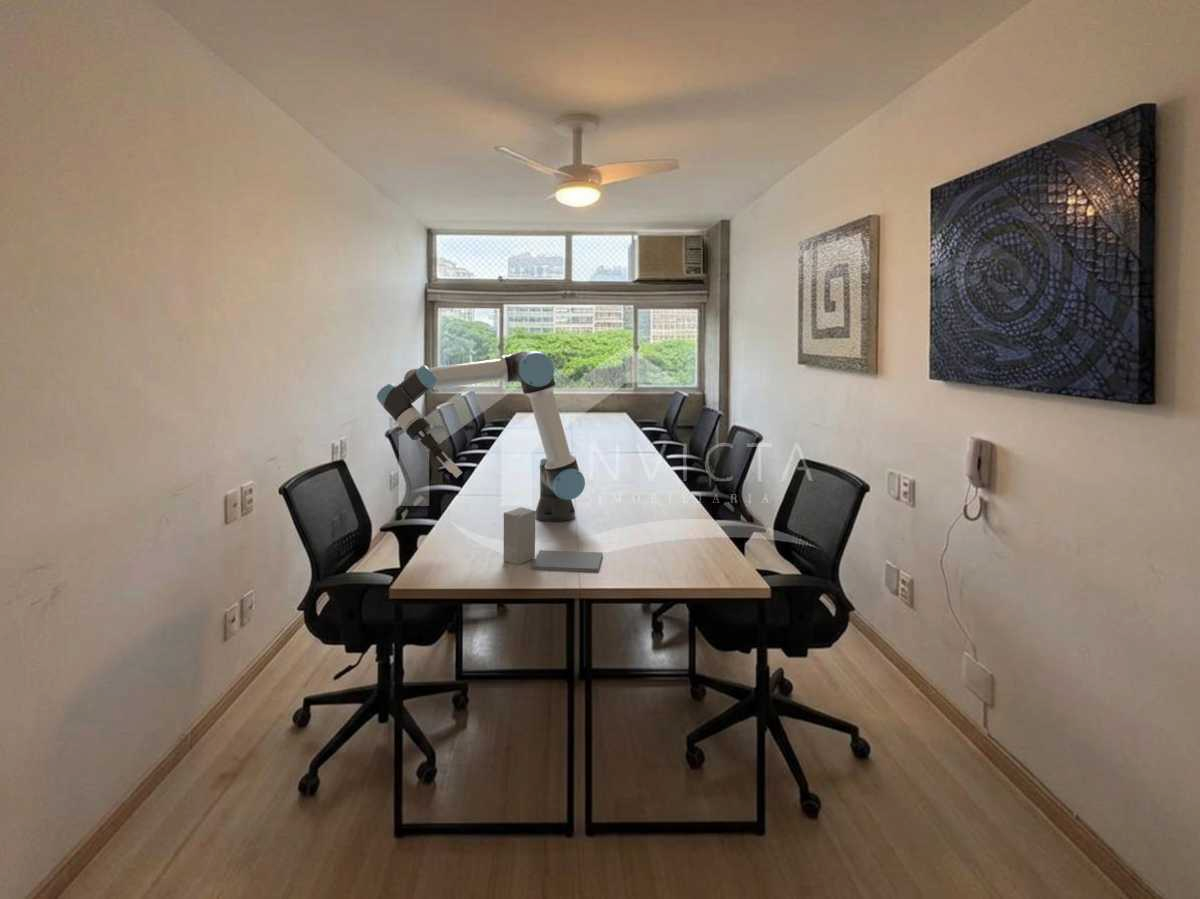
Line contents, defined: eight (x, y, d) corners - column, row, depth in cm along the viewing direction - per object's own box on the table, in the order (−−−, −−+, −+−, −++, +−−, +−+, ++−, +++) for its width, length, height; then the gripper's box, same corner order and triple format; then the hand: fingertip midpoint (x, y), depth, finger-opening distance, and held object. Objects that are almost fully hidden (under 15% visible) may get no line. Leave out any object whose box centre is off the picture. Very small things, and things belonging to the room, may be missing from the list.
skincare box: (519, 555, 227) (519, 506, 225) (537, 559, 223) (537, 509, 221) (501, 561, 220) (501, 511, 218) (519, 566, 216) (519, 515, 214)
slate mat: (531, 569, 214) (531, 566, 213) (539, 553, 229) (539, 550, 229) (598, 571, 212) (598, 568, 212) (602, 555, 228) (602, 552, 228)
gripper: (413, 438, 247) (453, 484, 245) (396, 424, 223) (440, 475, 221) (429, 424, 248) (470, 470, 246) (415, 408, 224) (459, 459, 222)
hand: (456, 472), depth 234 cm, fingers open, 13 cm apart
